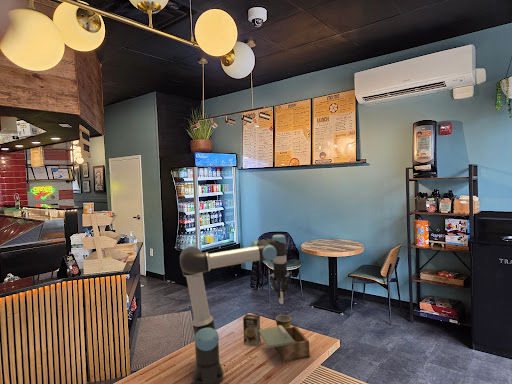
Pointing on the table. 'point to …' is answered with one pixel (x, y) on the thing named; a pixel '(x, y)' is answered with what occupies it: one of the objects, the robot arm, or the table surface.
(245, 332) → the coffee box
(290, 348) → the toolbox
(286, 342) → the lid
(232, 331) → the table surface
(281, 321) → the ceramic cup
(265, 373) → the table surface
